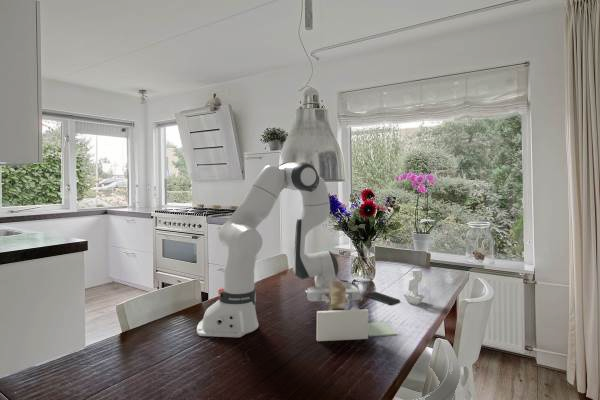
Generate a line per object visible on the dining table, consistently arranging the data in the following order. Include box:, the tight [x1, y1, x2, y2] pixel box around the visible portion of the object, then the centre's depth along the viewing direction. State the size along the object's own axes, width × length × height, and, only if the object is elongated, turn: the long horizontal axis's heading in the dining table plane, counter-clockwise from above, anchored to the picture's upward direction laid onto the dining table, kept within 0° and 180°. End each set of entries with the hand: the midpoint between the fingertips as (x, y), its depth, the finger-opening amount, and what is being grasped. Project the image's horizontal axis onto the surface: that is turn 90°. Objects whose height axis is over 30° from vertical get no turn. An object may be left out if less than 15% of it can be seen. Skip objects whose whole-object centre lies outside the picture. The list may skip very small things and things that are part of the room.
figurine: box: [403, 268, 427, 306], centre depth 161 cm, size 7×9×15 cm
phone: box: [364, 291, 401, 306], centre depth 166 cm, size 8×1×15 cm
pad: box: [368, 322, 397, 337], centre depth 133 cm, size 10×10×1 cm
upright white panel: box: [315, 308, 370, 342], centre depth 125 cm, size 18×2×10 cm, turn 97°
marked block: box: [327, 281, 346, 311], centre depth 132 cm, size 5×5×14 cm
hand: (337, 300), depth 131 cm, fingers closed on marked block, 5 cm apart
